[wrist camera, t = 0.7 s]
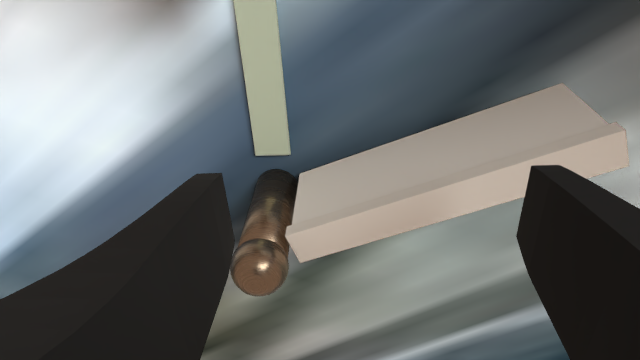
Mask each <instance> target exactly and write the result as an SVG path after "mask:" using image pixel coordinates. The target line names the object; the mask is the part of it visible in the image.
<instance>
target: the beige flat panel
mask: <svg viewBox="0 0 640 360" xmlns="http://www.w3.org/2000/svg"><path fill="white" fill-rule="evenodd" d="M533 165H560V166H563V167H565V168H567V169H569V170H571V171H573V172H575V173H577V174H579V175H580V176H582V177H584V178H586V179H587V178H590V177H594V176H597V175H600V174H604V173H607V172H610V171H614V170H617V169H621V168H624V167H627V166H629V159H628V149H627V139H626V130H625V129H624V128H623V127H622V126H620V125H619V124H618V123H617V122H614V123H611V124H609V123H607V122H606V121H605V120H604V119H603V118H602V117H601V116H600V115H598V114H597V113H596V112H595V111H594V110H593V109H592V108H590V107H589V106H588V105H587V104H586V103H585V102H584V101H583V100H581V99H580V98H579V97H578V96H577V95H576V94H575V93H573V92H572V91H571V90H570V89H569V88H568V87H567V86H566V85H564V84H563V83H561V84H558V85H555V86H552V87H549V88H546V89H543V90H540V91H537V92H535V93H532V94H529V95H526V96H523V97H520V98H517V99H514V100H511V101H509V102H506V103H503V104H500V105H497V106H494V107H491V108H488V109H485V110H483V111H480V112H477V113H474V114H471V115H468V116H465V117H462V118H459V119H456V120H454V121H451V122H448V123H445V124H442V125H439V126H436V127H433V128H430V129H428V130H425V131H422V132H419V133H416V134H413V135H410V136H407V137H404V138H402V139H399V140H396V141H393V142H390V143H387V144H384V145H381V146H378V147H375V148H373V149H370V150H367V151H364V152H361V153H358V154H355V155H352V156H349V157H347V158H344V159H341V160H338V161H335V162H332V163H329V164H326V165H323V166H320V167H318V168H315V169H312V170H309V171H306V172H303V173H300V175H299V181H298V188H297V194H296V201H295V207H294V213H293V220H292V225H290V226H287V228H286V233H285V237H286V239H287V241H288V242H289V244H290V246H291V248H292V249H293V251H294V253H295V254H296V256H297V258H298V260H299V261H300V263H302V262H305V261H309V260H312V259H315V258H319V257H322V256H326V255H329V254H332V253H336V252H339V251H343V250H346V249H349V248H353V247H356V246H359V245H363V244H366V243H370V242H373V241H376V240H380V239H383V238H387V237H390V236H393V235H397V234H400V233H404V232H407V231H410V230H414V229H417V228H421V227H424V226H427V225H431V224H434V223H437V222H441V221H444V220H448V219H451V218H454V217H458V216H461V215H465V214H468V213H471V212H475V211H478V210H482V209H485V208H488V207H492V206H495V205H499V204H502V203H505V202H509V201H512V200H516V199H519V198H522V197H525V193H526V188H527V184H528V179H529V174H530V169H531V166H533Z"/></svg>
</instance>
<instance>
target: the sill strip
mask: <svg viewBox="0 0 640 360" xmlns="http://www.w3.org/2000/svg"><path fill="white" fill-rule="evenodd" d="M233 1H234V8H235V15H236V22H237V29H238V36H239V43H240V50H241V57H242V64H243V71H244V78H245V85H246V92H247V99H248V106H249V113H250V120H251V127H252V134H253V141H254V148H255V155H256V156H265V155H290V154H291V150H290V140H289V130H288V119H287V109H286V99H285V89H284V78H283V68H282V58H281V47H280V37H279V27H278V17H277V6H276V0H233Z"/></svg>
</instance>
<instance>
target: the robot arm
mask: <svg viewBox="0 0 640 360" xmlns="http://www.w3.org/2000/svg"><path fill="white" fill-rule="evenodd" d="M516 237H517V240H518V243H519V247H520V250H521V253H522V257H523V260H524V263H525V266H526V269H527V272H528V274H529V276H530V278H531V281H532V283H533V285H534V287H535V289H536V291H537V293H538V295H539V297H540V299H541V301H542V303H543V305H544V307H545V309H546V311H547V313H548V315H549V317H550V319H551V322H552V324H553V326H554V328H555V330H556V332H557V334H558V336H559V338H560V340H561V342H562V344H563V346H564V348H565V350H566V352H567V354H568V356H569V358H570V360H640V209H639V208H637V207H635V206H633V205H631V204H630V203H628V202H626V201H624V200H623V199H621V198H619V197H617V196H616V195H614V194H612V193H610V192H609V191H607V190H605V189H603V188H602V187H600V186H598V185H596V184H595V183H593V182H591V181H589V180H588V179H586V178H584V177H582V176H580V175H579V174H577V173H575V172H573V171H571V170H569V169H567V168H565V167H563V166H560V165H533V166H531V169H530V174H529V179H528V184H527V188H526V193H525V198H524V203H523V207H522V212H521V217H520V221H519V226H518V231H517V236H516ZM234 242H235V239H234V234H233V228H232V223H231V218H230V213H229V208H228V203H227V198H226V192H225V187H224V182H223V177H222V173H209V174H196V175H194V176H193V177H191V178H190V179H189V180H187V181H186V182H185V183H183V184H182V185H181V186H179V187H178V188H177V189H176V190H174V191H173V192H172V193H170V194H169V195H168V196H167V197H165V198H164V199H163V200H162V201H160V202H159V203H158V204H156V205H155V206H154V207H153V208H151V209H150V210H149V211H147V212H146V213H145V214H144V215H142V216H141V217H140V218H138V219H137V220H135V221H134V222H133V223H131V224H130V225H128V226H127V227H126V228H124V229H123V230H121V231H120V232H118V233H117V234H116V235H114V236H113V237H111V238H110V239H109V240H107V241H106V242H104V243H103V244H101V245H100V246H98V247H97V248H95V249H93V250H92V251H90V252H89V253H87V254H85V255H84V256H82V257H80V258H79V259H77V260H75V261H74V262H72V263H70V264H68V265H67V266H65V267H63V268H62V269H60V270H58V271H56V272H54V273H52V274H50V275H49V276H47V277H45V278H43V279H41V280H39V281H37V282H35V283H33V284H31V285H29V286H27V287H25V288H23V289H21V290H19V291H17V292H15V293H13V294H11V295H9V296H7V297H5V298H2V299H0V360H200V358H201V355H202V352H203V349H204V346H205V343H206V340H207V337H208V334H209V331H210V328H211V325H212V323H213V320H214V317H215V314H216V311H217V308H218V305H219V302H220V299H221V296H222V293H223V290H224V287H225V284H226V281H227V278H228V274H229V269H230V264H231V259H232V254H233V248H234Z"/></svg>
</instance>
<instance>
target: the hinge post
mask: <svg viewBox="0 0 640 360" xmlns="http://www.w3.org/2000/svg"><path fill="white" fill-rule="evenodd" d="M297 188H298V183H297V181H296V179H295V178H294V177H293V175H291V174H290V173H289V172H287V171H284V170H280V169H272V170H268V171H266V172H264V173H263V174H262V175H261V176H260V177H259V179H258V181H257V184H256V188H255V191H254V194H253V198H252V201H251V204H250V208H249V211H248V215H247V218H246V221H245V225H244V228H243V231H242V235H241V238H240V241H239V245H238V248H237V249H236V251H235V252H234V254H233V256H232V259H231V264H230V271H231V276H232V279H233V281H234V283H235V284H236V286H237V287H238V288H239V289H240V290H241V291H243V292H244V293H246V294H249V295H252V296H266V295H269V294H271V293H273V292H275V291H276V290H278V289H279V288H280V287H281V286H282V284H283V283H284V281H285V280H286V277H287V274H288V269H289V263H288V252H289V246H290V244H289V242H288V241H287V239H286V237H285V233H286V228H287V226H290V225H292V220H293V213H294V207H295V201H296V194H297Z"/></svg>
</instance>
